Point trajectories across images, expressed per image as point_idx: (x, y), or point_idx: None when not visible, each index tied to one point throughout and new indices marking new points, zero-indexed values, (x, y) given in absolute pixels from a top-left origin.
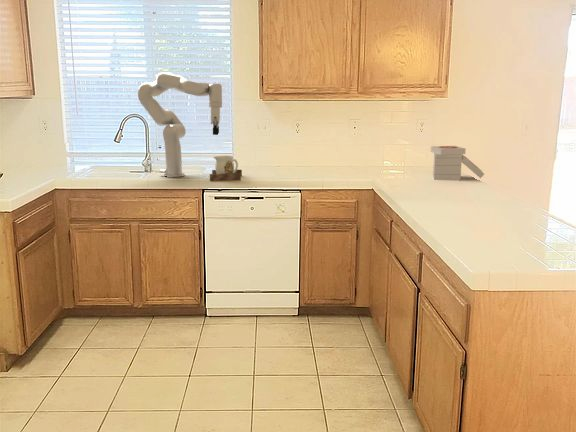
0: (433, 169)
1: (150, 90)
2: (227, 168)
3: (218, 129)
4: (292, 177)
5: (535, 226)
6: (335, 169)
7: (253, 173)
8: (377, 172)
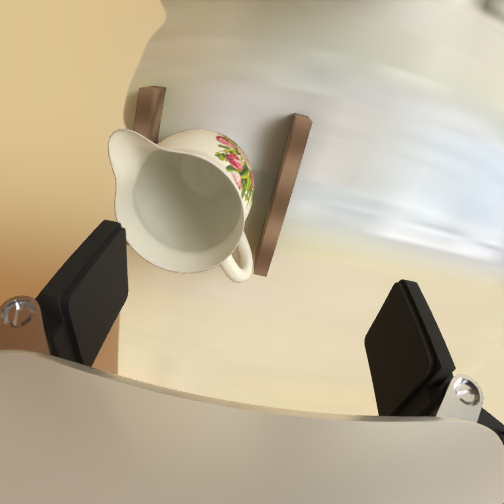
0: None
1: None
2: (141, 197)
3: (373, 382)
4: (181, 384)
5: None
6: None
7: (318, 312)
8: None
